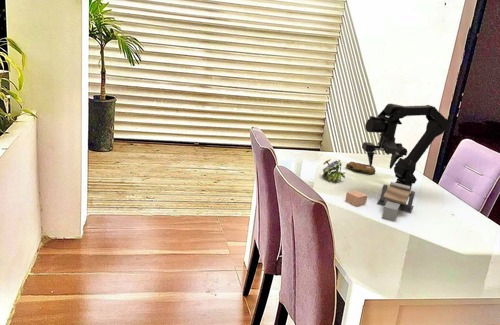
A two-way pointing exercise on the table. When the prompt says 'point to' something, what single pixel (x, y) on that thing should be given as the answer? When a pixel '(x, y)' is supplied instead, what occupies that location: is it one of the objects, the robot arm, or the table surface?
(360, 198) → the plinth
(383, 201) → the trapdoor frame
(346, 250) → the table surface
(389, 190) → the trapdoor
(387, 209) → the slate block
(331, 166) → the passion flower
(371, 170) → the decorative rock
